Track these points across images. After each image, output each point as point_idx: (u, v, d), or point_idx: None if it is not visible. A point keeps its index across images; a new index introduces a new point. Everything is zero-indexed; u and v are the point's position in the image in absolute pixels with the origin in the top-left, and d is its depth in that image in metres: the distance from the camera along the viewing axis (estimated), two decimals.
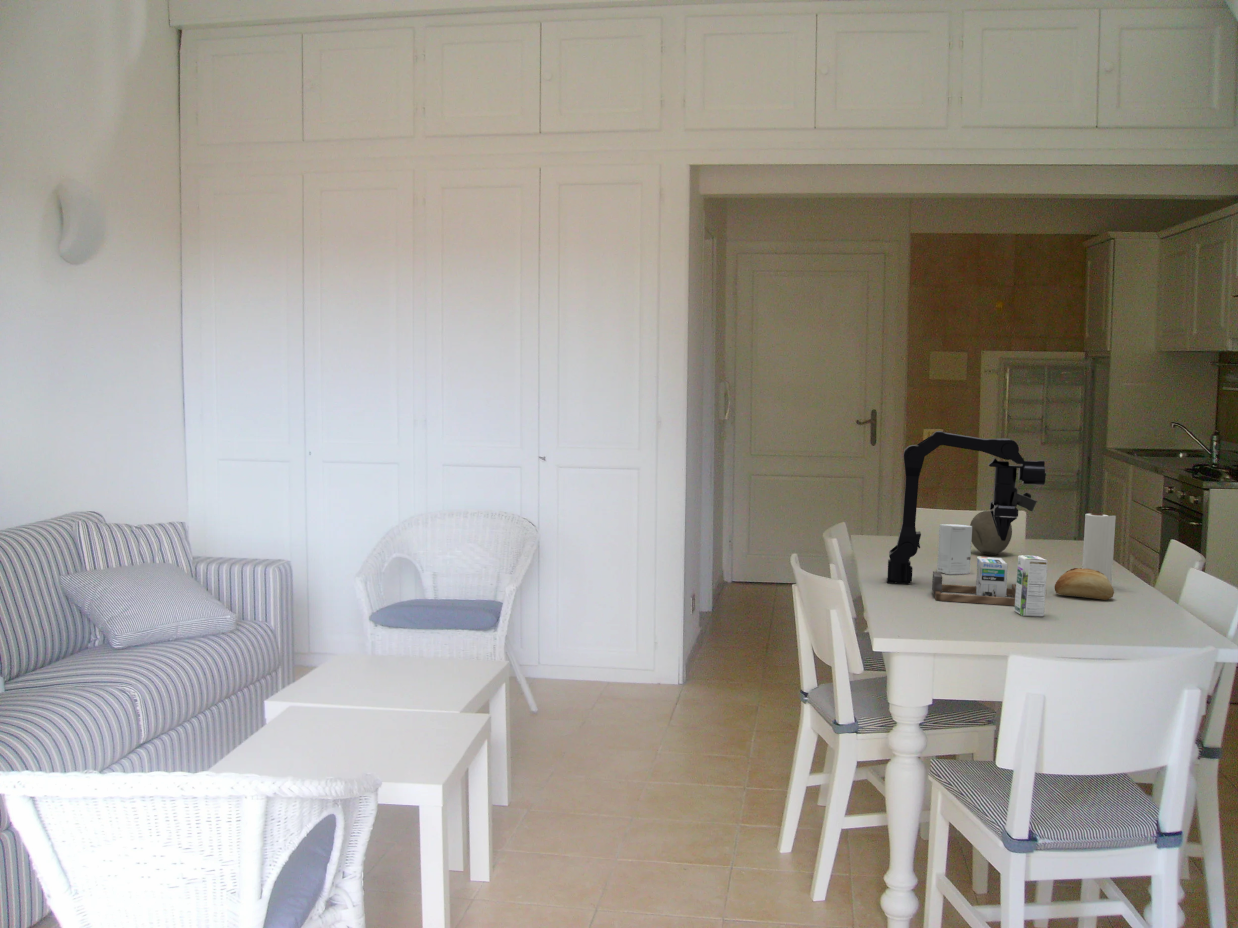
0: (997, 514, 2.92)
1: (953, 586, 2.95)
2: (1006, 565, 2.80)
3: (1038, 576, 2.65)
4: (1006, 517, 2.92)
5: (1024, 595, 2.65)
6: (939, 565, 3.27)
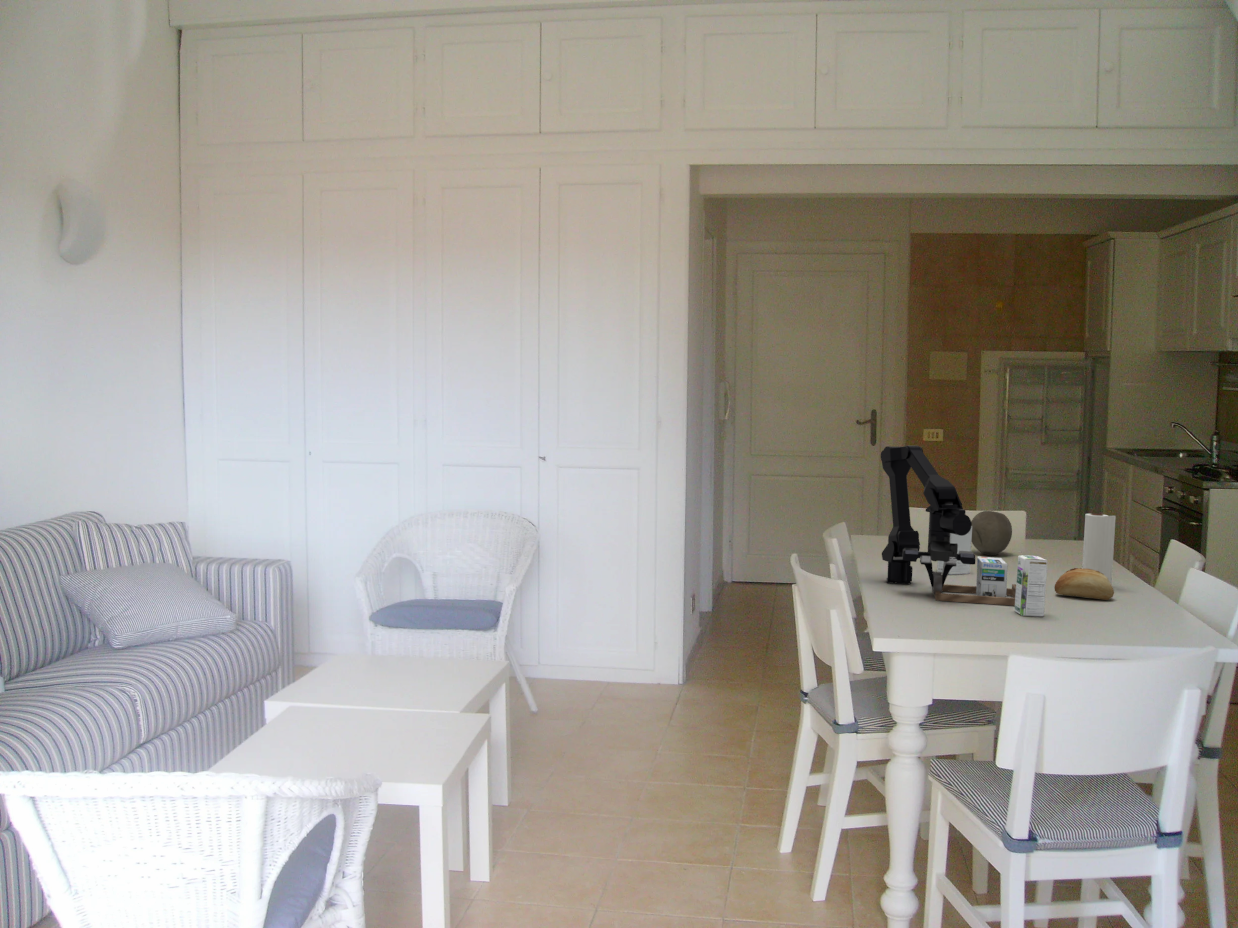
0: (902, 555, 2.93)
1: (953, 586, 2.95)
2: (1006, 565, 2.80)
3: (1038, 576, 2.65)
4: (920, 561, 2.90)
5: (1024, 595, 2.65)
6: (939, 565, 3.27)
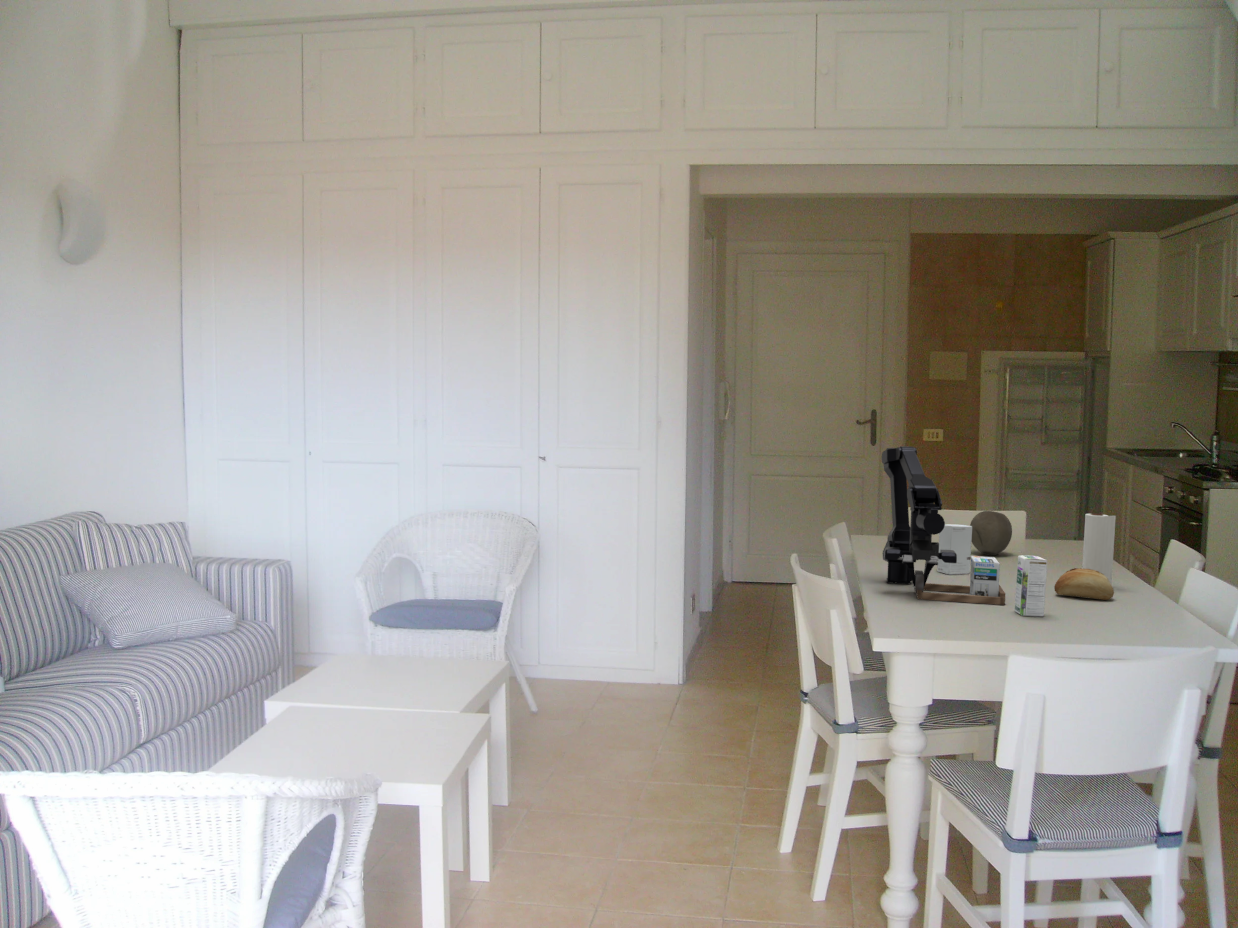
0: (884, 555, 2.94)
1: (935, 585, 2.96)
2: (998, 564, 2.81)
3: (1038, 576, 2.65)
4: (902, 560, 2.91)
5: (1023, 595, 2.65)
6: (939, 565, 3.27)
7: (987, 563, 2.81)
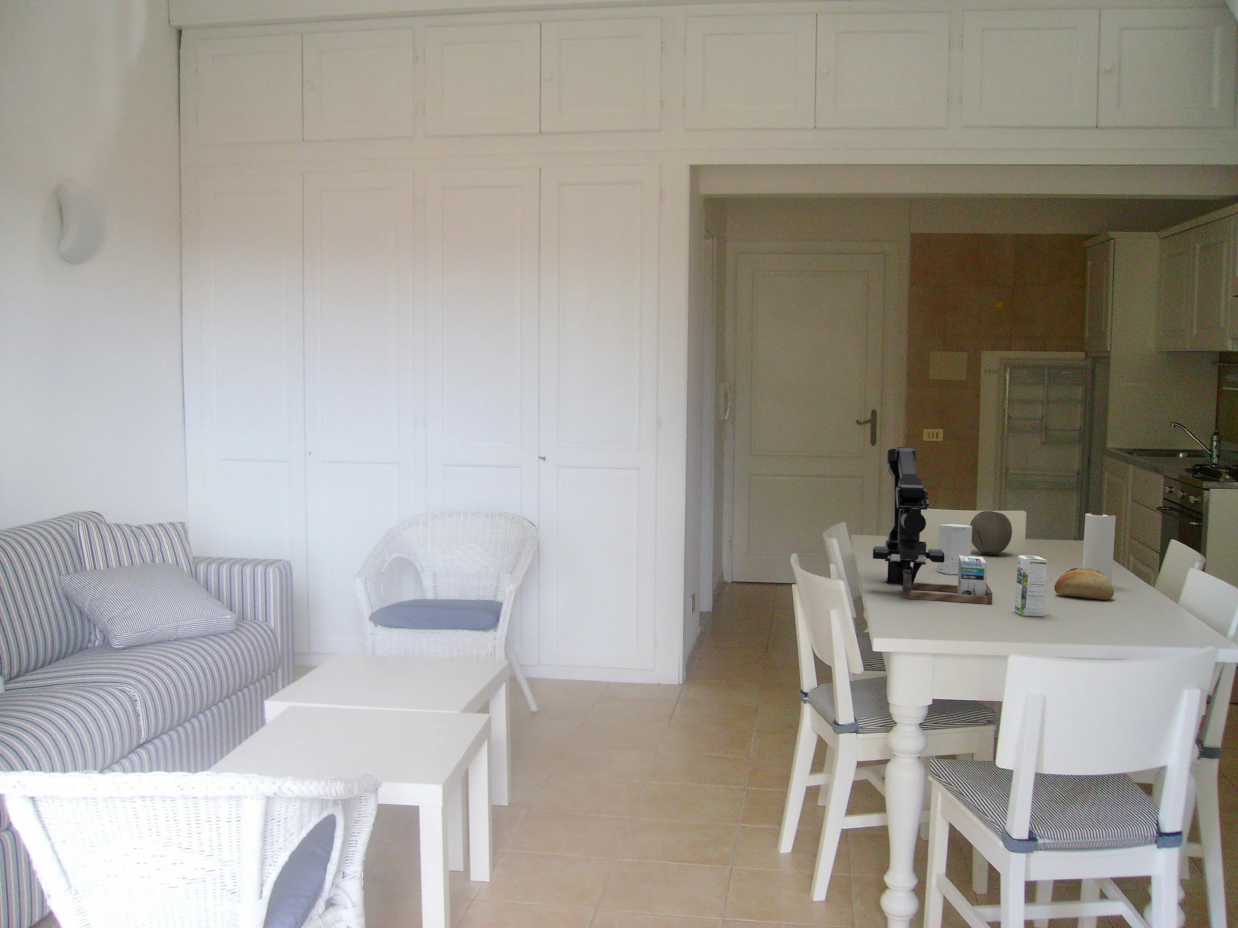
0: None
1: (923, 584, 2.97)
2: (985, 564, 2.81)
3: (1038, 576, 2.65)
4: (890, 559, 2.92)
5: (1024, 595, 2.65)
6: (939, 565, 3.27)
7: (974, 562, 2.82)
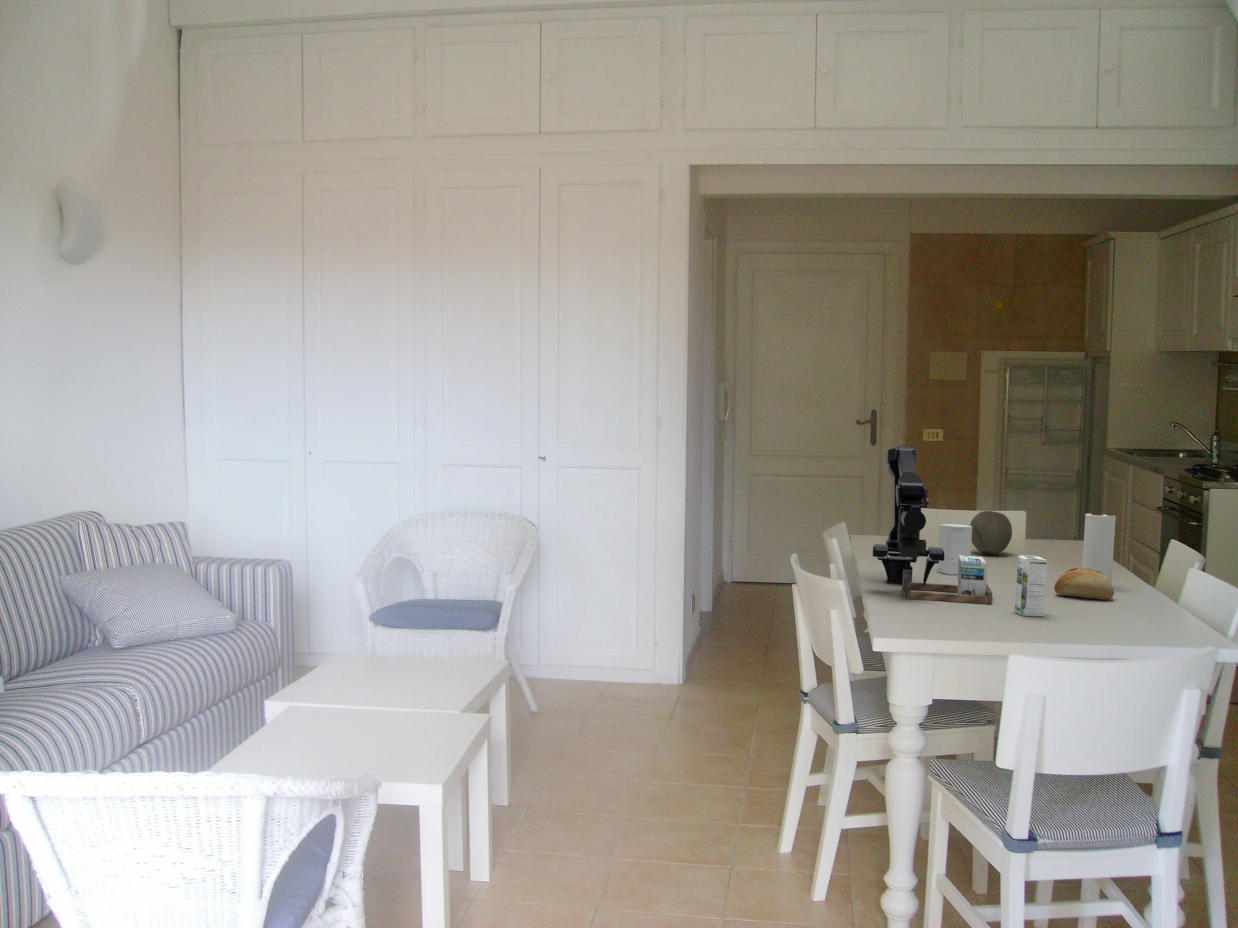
0: None
1: None
2: (985, 564, 2.81)
3: (1038, 576, 2.65)
4: None
5: (1024, 595, 2.65)
6: (939, 565, 3.27)
7: (974, 562, 2.82)
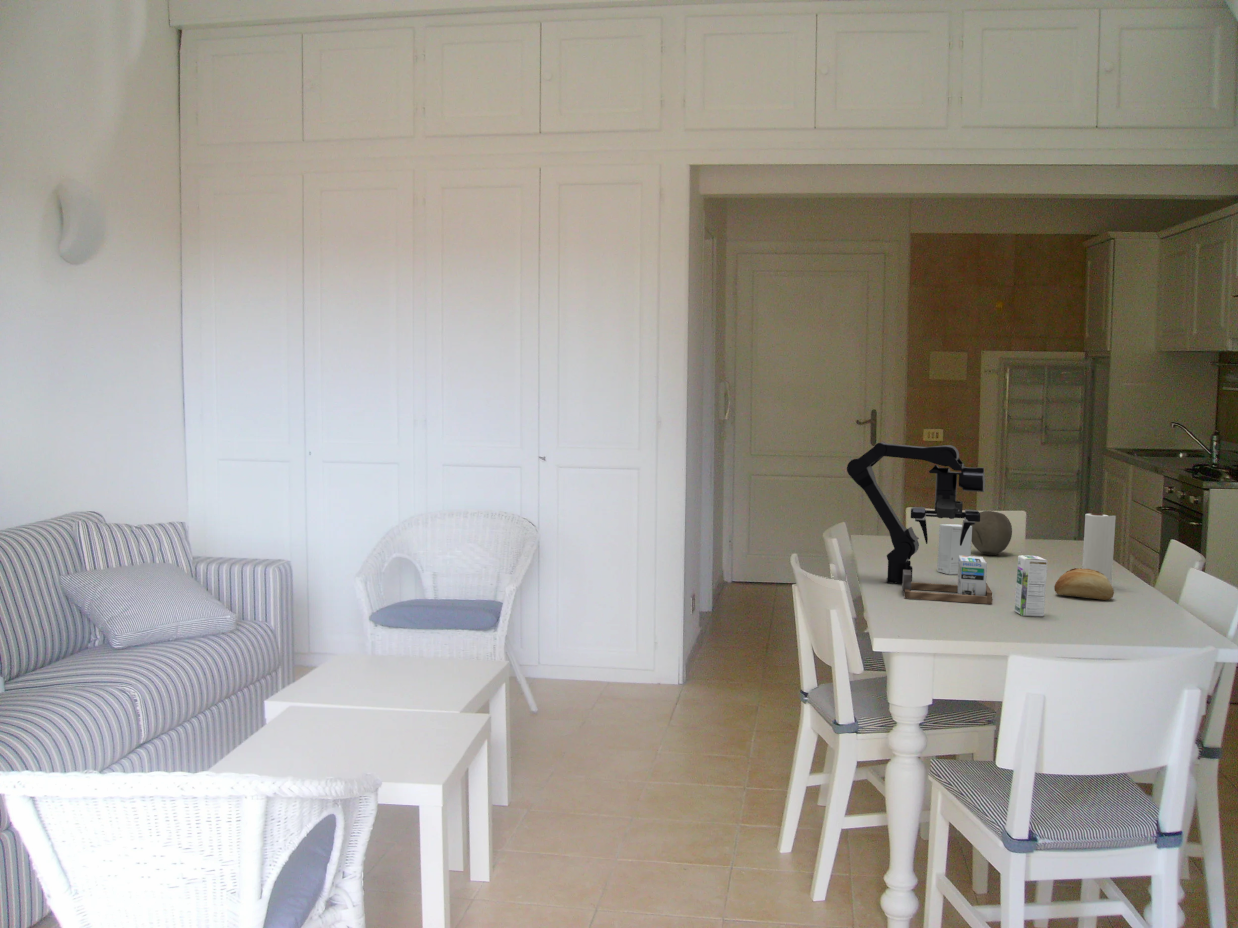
0: None
1: (923, 584, 2.97)
2: (985, 564, 2.81)
3: (1038, 576, 2.65)
4: None
5: (1023, 595, 2.65)
6: (939, 565, 3.27)
7: (974, 562, 2.82)
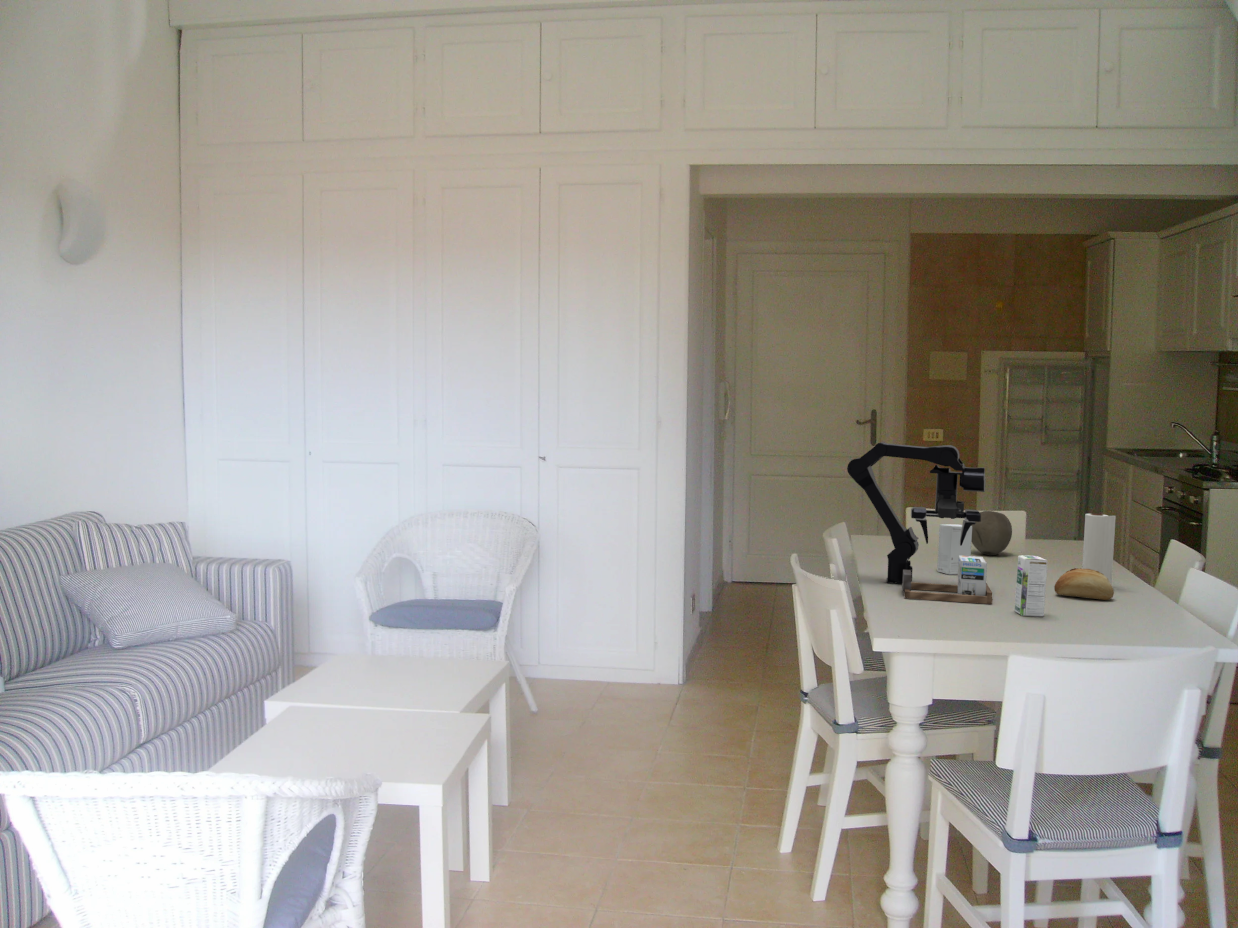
0: None
1: (923, 584, 2.97)
2: (985, 564, 2.81)
3: (1038, 576, 2.65)
4: None
5: (1024, 595, 2.65)
6: (939, 565, 3.27)
7: (974, 562, 2.82)
